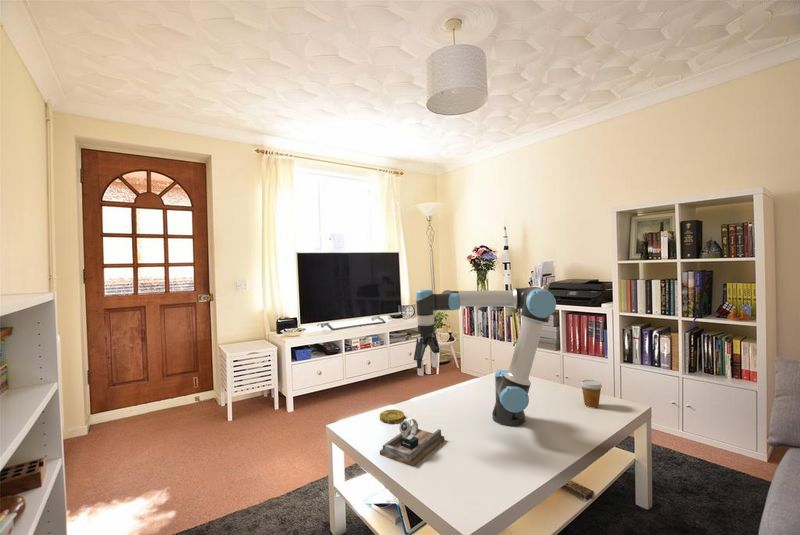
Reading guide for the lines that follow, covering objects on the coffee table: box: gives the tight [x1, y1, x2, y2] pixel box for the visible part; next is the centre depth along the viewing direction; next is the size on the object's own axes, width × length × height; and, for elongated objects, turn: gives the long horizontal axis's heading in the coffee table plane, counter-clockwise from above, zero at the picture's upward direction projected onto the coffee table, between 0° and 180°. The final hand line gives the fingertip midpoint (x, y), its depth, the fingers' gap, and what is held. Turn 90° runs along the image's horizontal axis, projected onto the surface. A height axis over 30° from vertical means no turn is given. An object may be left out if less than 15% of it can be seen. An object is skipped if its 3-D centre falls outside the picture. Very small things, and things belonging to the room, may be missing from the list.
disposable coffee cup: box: [580, 379, 603, 408], centre depth 191 cm, size 10×10×12 cm
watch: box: [399, 417, 418, 450], centre depth 152 cm, size 6×8×11 cm
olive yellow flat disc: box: [379, 409, 405, 424], centre depth 183 cm, size 12×12×2 cm
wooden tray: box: [379, 422, 445, 467], centre depth 154 cm, size 16×24×4 cm, turn 145°
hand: (428, 371), depth 169 cm, fingers open, 13 cm apart
